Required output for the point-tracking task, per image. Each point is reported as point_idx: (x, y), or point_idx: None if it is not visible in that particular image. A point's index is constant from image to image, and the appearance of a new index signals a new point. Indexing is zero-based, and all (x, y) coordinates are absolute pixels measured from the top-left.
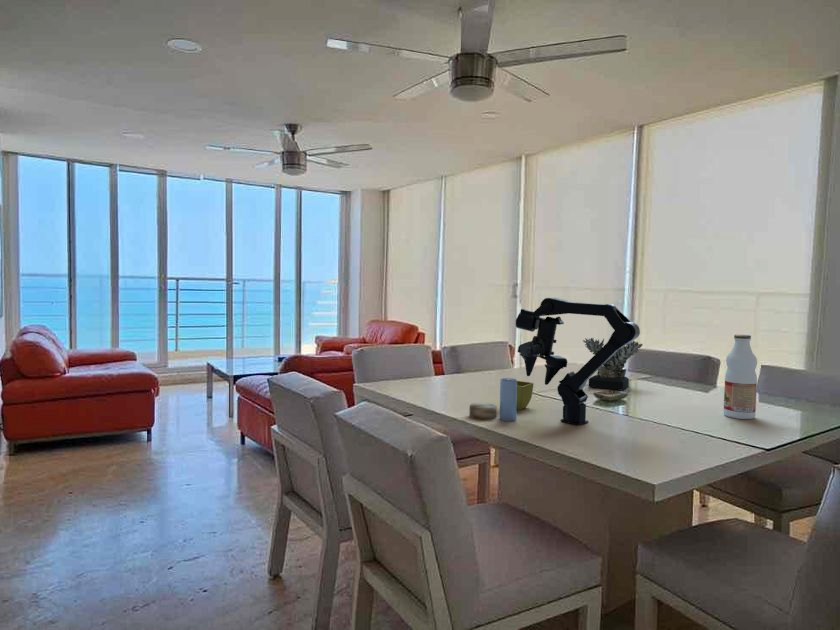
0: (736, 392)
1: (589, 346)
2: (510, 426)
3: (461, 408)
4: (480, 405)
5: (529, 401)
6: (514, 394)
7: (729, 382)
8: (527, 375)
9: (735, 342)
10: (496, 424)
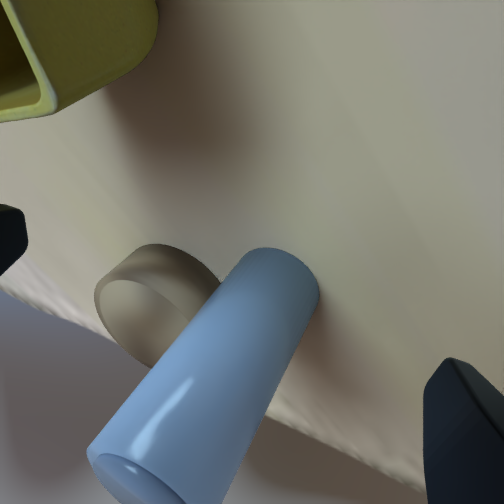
0: None
1: None
2: (368, 389)
3: (40, 228)
4: (138, 329)
5: None
6: (258, 423)
7: None
8: (21, 254)
9: None
10: (303, 381)
